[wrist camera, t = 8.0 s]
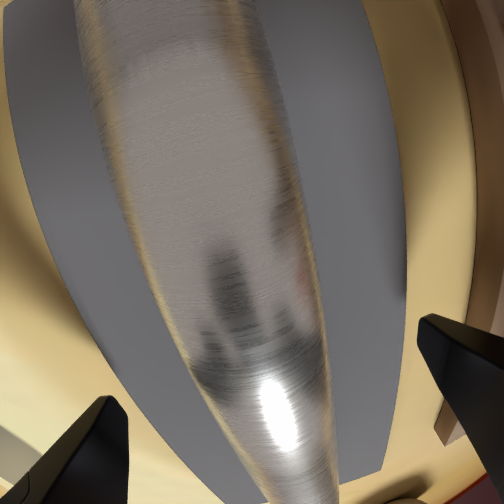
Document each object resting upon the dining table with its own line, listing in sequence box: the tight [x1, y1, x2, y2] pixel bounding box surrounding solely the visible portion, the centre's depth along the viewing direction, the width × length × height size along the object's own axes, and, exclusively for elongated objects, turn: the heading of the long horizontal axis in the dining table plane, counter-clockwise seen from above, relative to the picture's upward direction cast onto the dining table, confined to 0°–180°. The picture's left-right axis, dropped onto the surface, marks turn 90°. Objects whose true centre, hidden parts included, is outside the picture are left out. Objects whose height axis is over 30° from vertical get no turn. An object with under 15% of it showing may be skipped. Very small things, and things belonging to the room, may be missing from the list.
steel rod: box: [74, 0, 339, 504], centre depth 7 cm, size 20×3×3 cm, turn 14°
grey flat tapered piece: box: [3, 0, 407, 504], centre depth 8 cm, size 24×9×1 cm, turn 14°
